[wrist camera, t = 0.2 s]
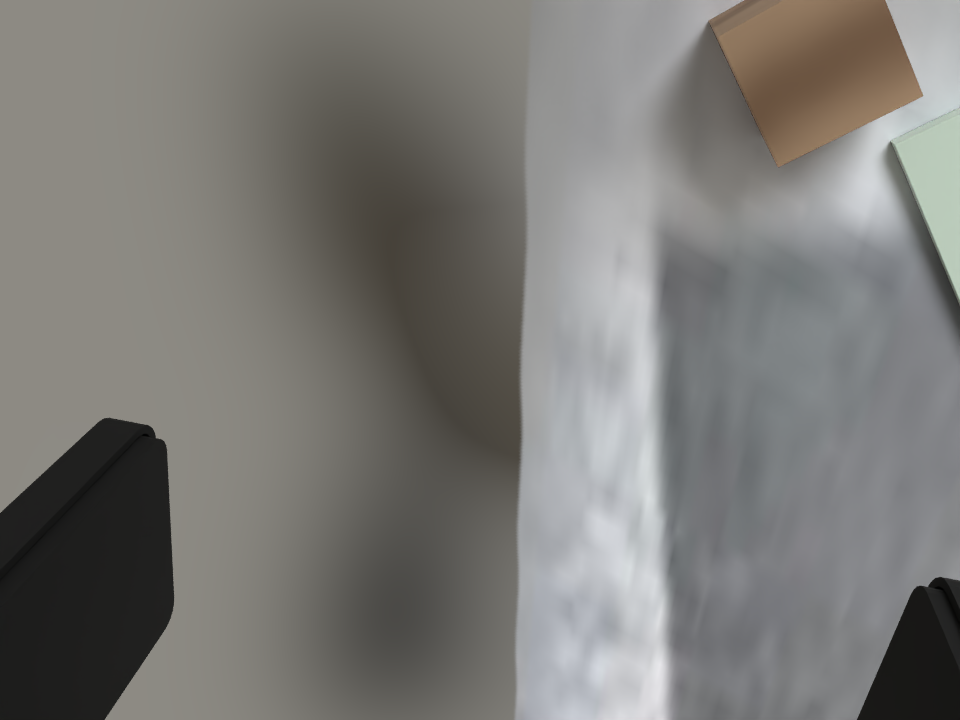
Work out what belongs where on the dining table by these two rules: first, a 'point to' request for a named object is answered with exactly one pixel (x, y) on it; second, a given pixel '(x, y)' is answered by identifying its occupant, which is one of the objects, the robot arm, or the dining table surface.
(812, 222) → the dining table surface
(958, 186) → the green tile
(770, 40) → the walnut cube
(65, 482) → the robot arm
